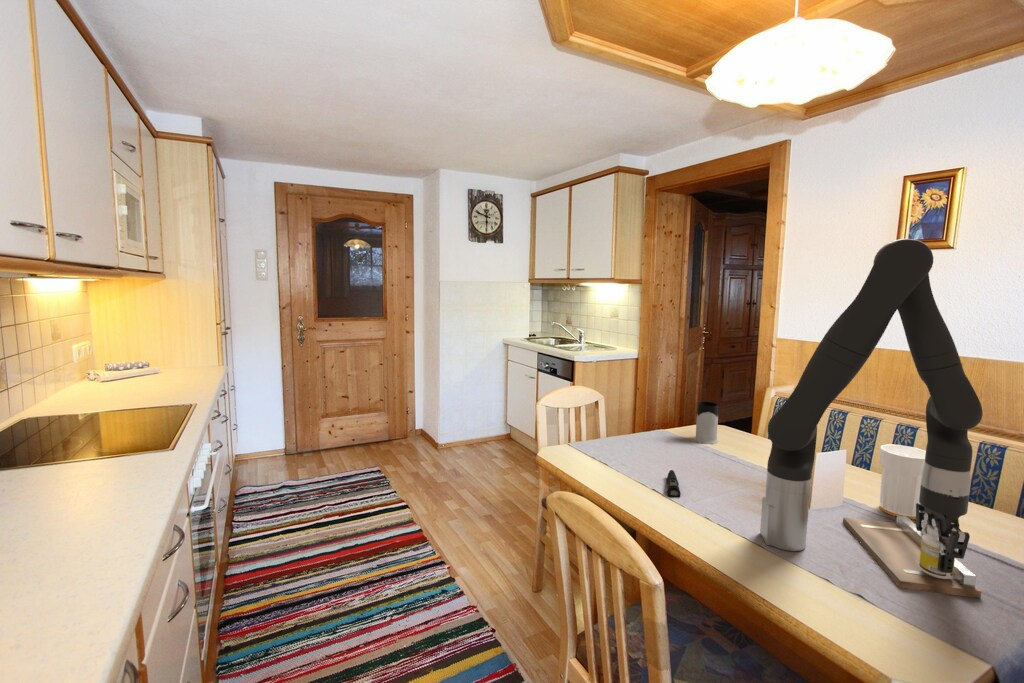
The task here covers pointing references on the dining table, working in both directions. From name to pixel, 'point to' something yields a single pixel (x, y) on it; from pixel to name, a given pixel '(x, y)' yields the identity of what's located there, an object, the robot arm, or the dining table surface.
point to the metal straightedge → (909, 528)
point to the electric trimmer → (672, 485)
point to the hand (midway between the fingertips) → (936, 563)
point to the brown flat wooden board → (902, 557)
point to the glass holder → (707, 423)
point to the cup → (901, 479)
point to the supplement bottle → (932, 555)
